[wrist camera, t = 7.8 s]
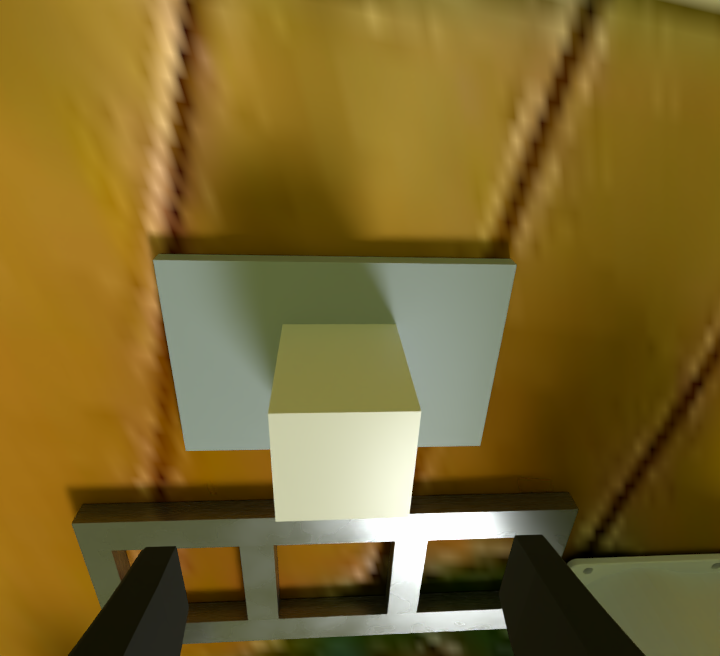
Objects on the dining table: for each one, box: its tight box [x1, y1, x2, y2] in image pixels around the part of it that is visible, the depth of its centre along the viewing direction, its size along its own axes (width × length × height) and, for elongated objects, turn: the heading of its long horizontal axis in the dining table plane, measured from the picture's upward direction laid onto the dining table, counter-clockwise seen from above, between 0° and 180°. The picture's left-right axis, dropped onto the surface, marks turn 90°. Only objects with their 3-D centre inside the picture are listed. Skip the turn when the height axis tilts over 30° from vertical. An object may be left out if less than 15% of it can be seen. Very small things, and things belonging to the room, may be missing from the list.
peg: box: [268, 324, 421, 522], centre depth 16 cm, size 4×4×5 cm
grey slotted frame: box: [72, 492, 579, 644], centre depth 23 cm, size 22×9×1 cm, turn 88°
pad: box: [153, 254, 517, 451], centre depth 18 cm, size 12×8×1 cm, turn 88°
